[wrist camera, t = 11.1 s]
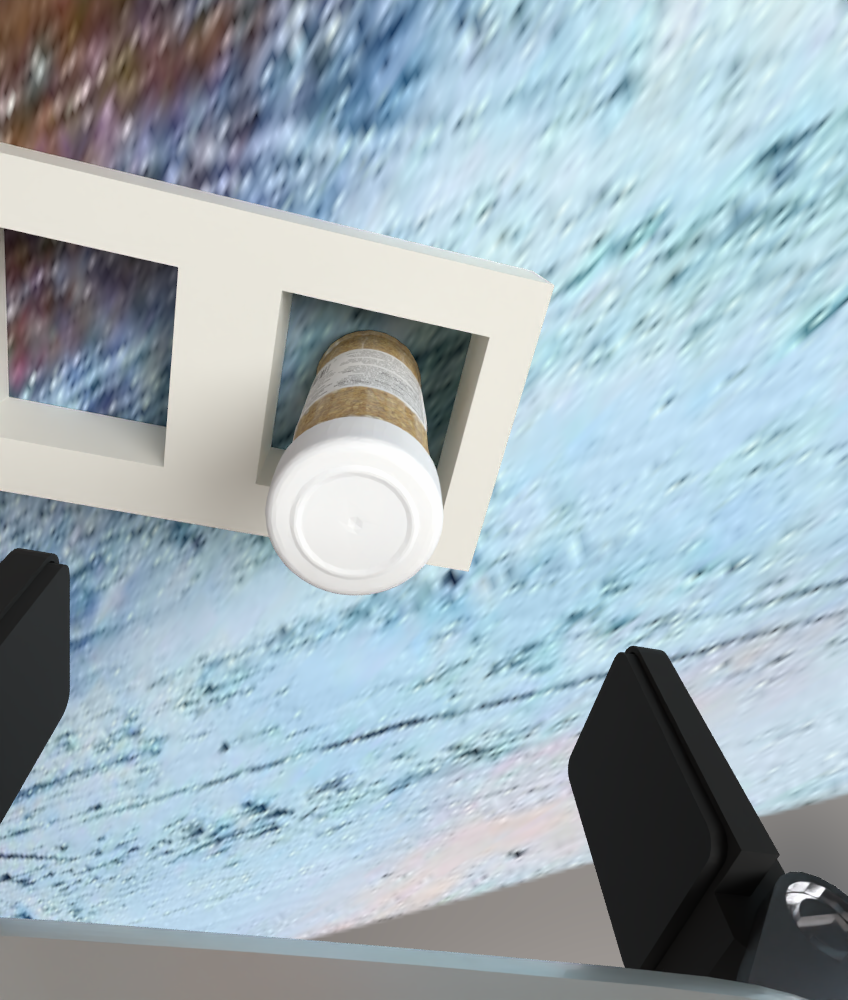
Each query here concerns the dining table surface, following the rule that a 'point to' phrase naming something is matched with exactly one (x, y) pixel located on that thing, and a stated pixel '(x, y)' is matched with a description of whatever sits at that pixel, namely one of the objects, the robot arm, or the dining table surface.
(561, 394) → the dining table surface
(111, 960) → the robot arm
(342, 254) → the condiment rack
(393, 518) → the sprinkles bottle
